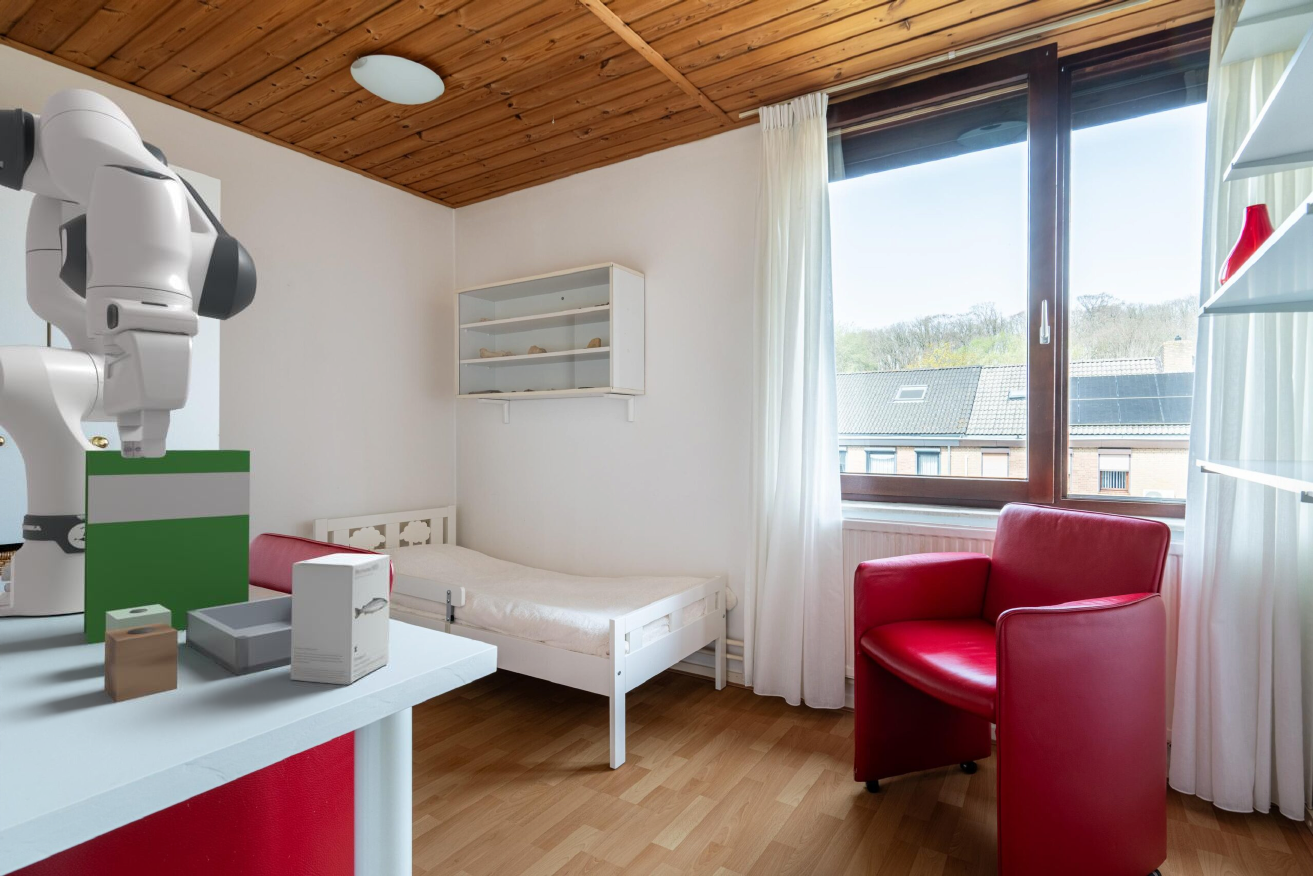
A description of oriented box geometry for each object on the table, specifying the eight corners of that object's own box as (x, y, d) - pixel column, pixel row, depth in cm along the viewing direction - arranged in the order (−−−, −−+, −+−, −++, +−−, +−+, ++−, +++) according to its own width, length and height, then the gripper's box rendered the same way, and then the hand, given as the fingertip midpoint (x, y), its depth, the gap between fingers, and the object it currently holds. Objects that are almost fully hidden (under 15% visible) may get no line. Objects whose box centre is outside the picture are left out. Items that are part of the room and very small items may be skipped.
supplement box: (350, 686, 72) (351, 565, 72) (288, 681, 74) (289, 562, 74) (391, 664, 79) (392, 553, 79) (333, 659, 81) (334, 551, 81)
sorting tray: (185, 643, 87) (186, 611, 87) (301, 621, 97) (302, 593, 97) (238, 675, 75) (238, 638, 75) (363, 647, 86) (364, 614, 86)
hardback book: (86, 644, 86) (88, 451, 86) (83, 632, 92) (85, 450, 92) (248, 620, 98) (250, 450, 98) (237, 610, 103) (238, 449, 103)
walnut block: (104, 690, 71) (104, 630, 71) (162, 678, 74) (163, 621, 74) (116, 703, 67) (117, 640, 67) (177, 689, 71) (177, 629, 71)
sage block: (105, 664, 79) (106, 610, 79) (158, 654, 82) (158, 603, 83) (116, 674, 75) (117, 618, 75) (170, 663, 79) (171, 610, 79)
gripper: (85, 333, 77) (86, 458, 76) (123, 304, 63) (124, 458, 62) (154, 339, 81) (155, 457, 81) (204, 313, 67) (205, 456, 67)
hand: (142, 457), depth 72 cm, fingers open, 8 cm apart
